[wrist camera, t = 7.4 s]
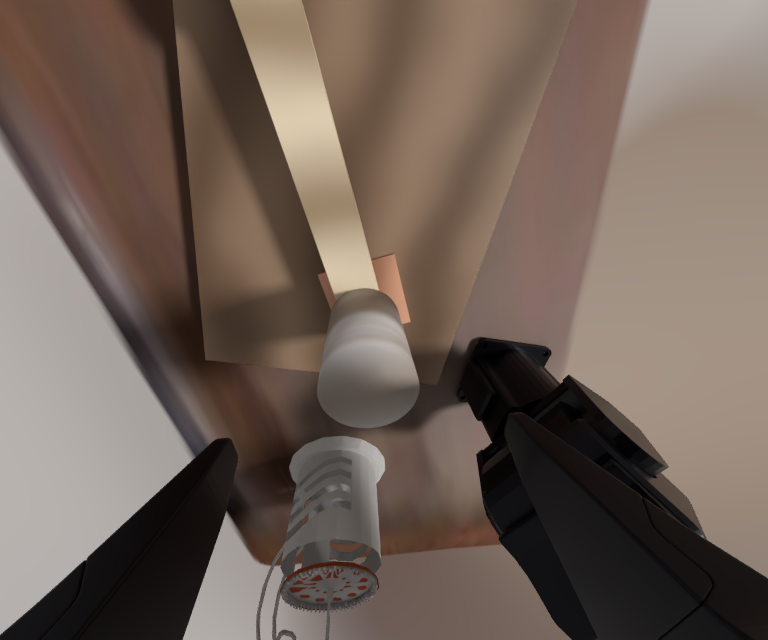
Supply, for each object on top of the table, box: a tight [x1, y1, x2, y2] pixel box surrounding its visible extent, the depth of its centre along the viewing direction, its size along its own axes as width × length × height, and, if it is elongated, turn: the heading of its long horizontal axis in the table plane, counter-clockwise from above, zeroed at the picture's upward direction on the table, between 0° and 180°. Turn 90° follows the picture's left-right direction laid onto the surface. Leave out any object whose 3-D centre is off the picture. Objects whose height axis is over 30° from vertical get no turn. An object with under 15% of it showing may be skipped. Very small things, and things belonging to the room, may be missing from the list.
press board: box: [173, 0, 578, 385], centre depth 16 cm, size 18×25×2 cm
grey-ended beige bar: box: [230, 0, 419, 428], centre depth 11 cm, size 20×4×8 cm, turn 13°
